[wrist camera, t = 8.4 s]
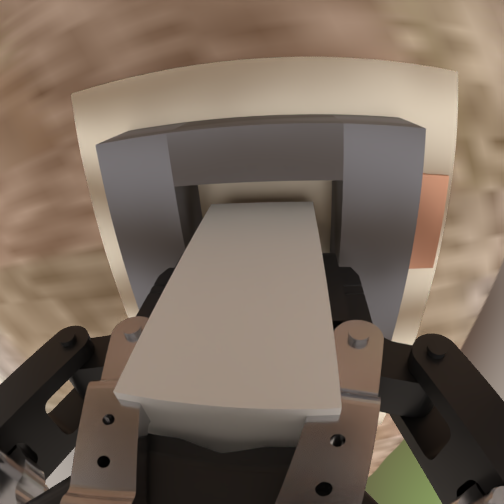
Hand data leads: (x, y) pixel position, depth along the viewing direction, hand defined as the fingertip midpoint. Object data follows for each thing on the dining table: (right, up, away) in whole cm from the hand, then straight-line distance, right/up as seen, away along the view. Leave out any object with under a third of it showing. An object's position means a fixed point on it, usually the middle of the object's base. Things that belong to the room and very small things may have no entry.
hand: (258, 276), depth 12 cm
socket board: (+1, -2, +7) cm, 8 cm away
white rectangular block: (0, +1, +2) cm, 2 cm away
